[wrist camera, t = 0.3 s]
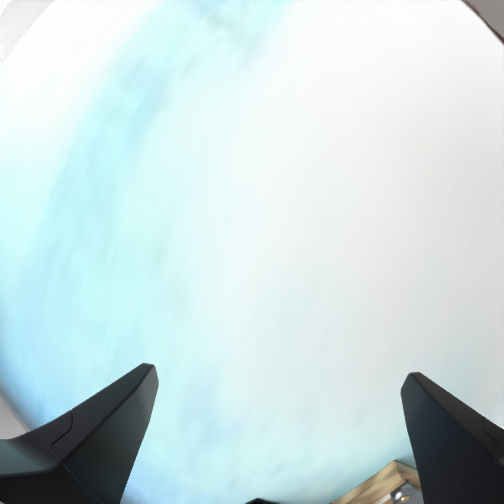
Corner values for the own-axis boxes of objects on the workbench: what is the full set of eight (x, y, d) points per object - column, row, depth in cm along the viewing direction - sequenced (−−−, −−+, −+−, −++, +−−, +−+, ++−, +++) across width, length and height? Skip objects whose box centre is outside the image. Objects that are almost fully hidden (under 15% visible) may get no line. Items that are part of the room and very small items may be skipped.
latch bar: (384, 491, 23) (389, 504, 20) (402, 478, 23) (409, 491, 20) (418, 499, 23) (424, 510, 20) (434, 487, 23) (440, 498, 20)
